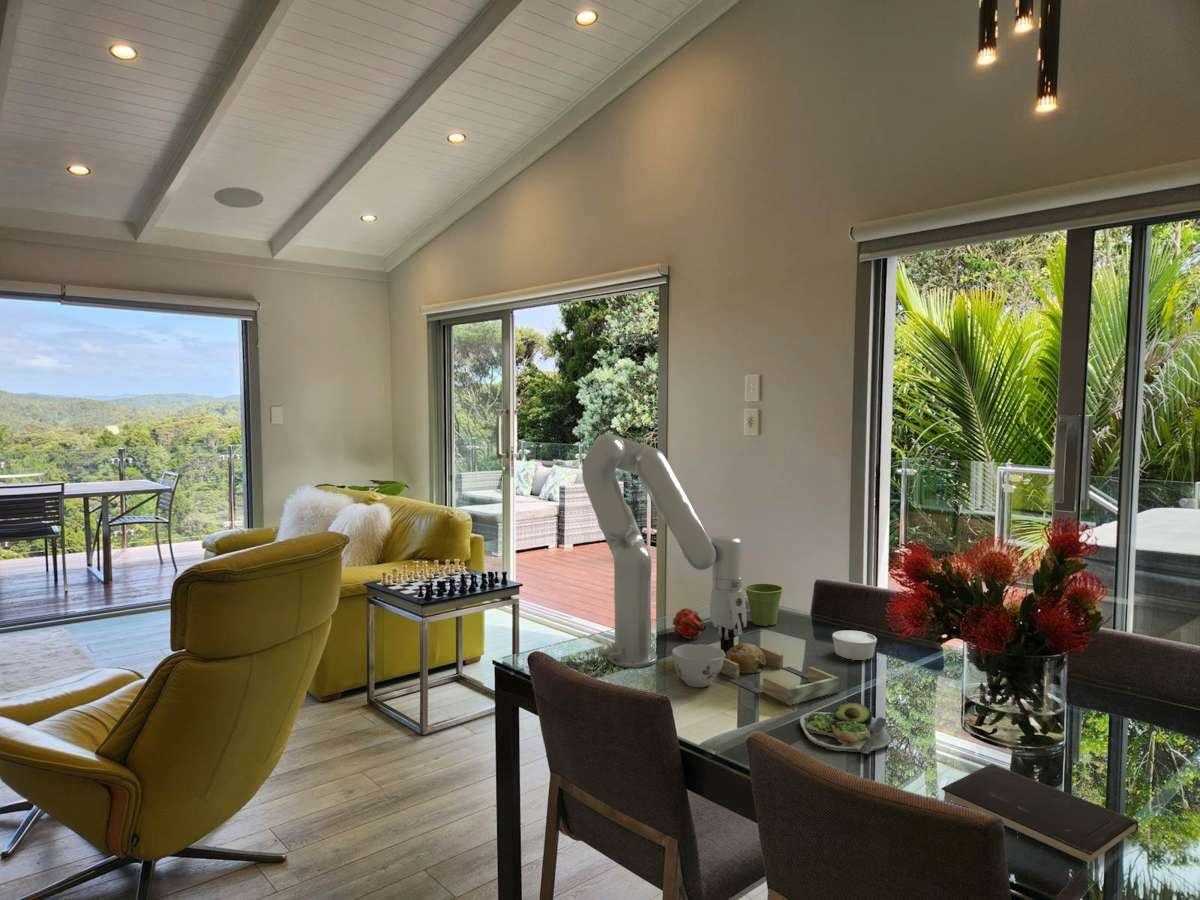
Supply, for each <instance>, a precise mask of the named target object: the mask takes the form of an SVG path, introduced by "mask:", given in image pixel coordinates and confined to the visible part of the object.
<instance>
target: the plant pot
mask: <svg viewBox="0 0 1200 900" xmlns="http://www.w3.org/2000/svg"><path fill="white" fill-rule="evenodd" d="M743 589H744V590H745V593H746V597H747V600H748V605H749V611H750V618H751V623H752V622H753V623H754V624H757V625H759V626H762V625H764V626H763V627H765V626H766V625H773V626H775V625H776V624H777V623H778V622H777V621H778V615H779V607H780V602H781V597H782V593H783V591H784V589H785V588H784V587H783V586H782V585H779V584H776V583H766V582H765V583H762V582H761V583H759V582H758V583H750V584H746V585H744V586H743ZM753 623H752V624H753ZM754 624H753V625H754ZM774 624H775V625H774ZM757 625H756V626H757Z"/></svg>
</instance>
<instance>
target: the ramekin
mask: <svg viewBox="0 0 1200 900" xmlns="http://www.w3.org/2000/svg"><path fill="white" fill-rule="evenodd" d="M831 636H832V640H833V646H834V652H835V653H836V655H837V656H838V655H839V656H841V657H844V658H847V659H853V660H852V661H854V660H864V661H867V660H866V659H869V660H870V658H871V659H872V658H873V657H874V654H875V650H876V644H877V642H878V639H877V637H876V636H875V635H874V634H871V633H868V632H865V631H861V630H860V631H859V630H851V629H850V630H838V631H835V632H833V633H832V635H831ZM839 656H838V657H839ZM841 657H840V658H841ZM844 658H843V659H844ZM847 659H846V660H847Z"/></svg>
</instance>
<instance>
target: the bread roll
mask: <svg viewBox="0 0 1200 900" xmlns="http://www.w3.org/2000/svg"><path fill="white" fill-rule="evenodd" d="M724 658H726V659H729V660H731V661H733V662H735V663H737V664H739V673H742V674H759V673H761V672H762V671H763V670H764V669H765V667H766V666H767V664H766V658H765V655H764V654H763V652H762V651H761V650H760V649H759V647H757V645H756V644H751V643H749V642H747V643H746V642H741V643H738V644H734V646H733V647H732V648H730V650H728V651H727V652H726V654H724Z"/></svg>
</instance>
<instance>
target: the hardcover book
mask: <svg viewBox="0 0 1200 900" xmlns="http://www.w3.org/2000/svg"><path fill="white" fill-rule="evenodd" d="M941 790H942V791H943V792H944V797H943V798H944V799H946V800H948V799H949V800H948V801H951V800H952V801H954V802H953V803H955V804H957V805H959V806H961V805H963V806H962V807H964V806H966V807H969V808H973V809H976V810H979V811H982V812H985V813H988V814H992V815H995V816H997V817H998V818H1000V819H1001V820H1002V821H1003V823H1004V824H1003V826H1006V827H1009V828H1011V829H1013V830H1014V831H1017V832H1020V833H1021V834H1024V835H1025V836H1028V837H1031V838H1033V839H1035V840H1037V841H1039V842H1042V843H1044V844H1046V845H1048V846H1050V847H1053V848H1054V849H1057V850H1059V851H1062V852H1064V853H1066V854H1068V855H1070V856H1073V857H1076V858H1078V859H1079V860H1082V861H1083V862H1086V863H1089V864H1091V863H1092V862H1093V861H1094V860H1096V859H1097V858H1098V857H1100V856H1101V855H1104V853H1105V852H1107V851H1108V850H1110V849H1111V848H1113V847H1114V846H1115V845H1117V844H1118V843H1119V842H1121V841H1123V840H1124V839H1125V838H1126V837H1128V836H1130V835H1131V834H1133V833H1134V832H1135V831H1139V821H1138V819H1135V818H1133V817H1130V816H1127V815H1124V814H1122V813H1119V812H1118V811H1114V810H1111V809H1109V808H1106V807H1104V806H1102V805H1099V804H1097V803H1094V802H1092V801H1088V800H1086V799H1083V798H1081V797H1078V796H1076V795H1073V794H1070V793H1069V792H1066V791H1063V790H1060V789H1057V788H1056V787H1053V786H1050V785H1048V784H1045V783H1042V782H1040V781H1038V780H1036V779H1032V778H1031V777H1027V776H1024V775H1023V774H1022V775H1021V774H1019V773H1017V772H1014V771H1012V770H1009V769H1006V768H1004V767H1002V766H999V765H996V764H993V763H991V764H988V765H985V766H984V767H981V768H979V769H978V770H976V771H974V772H972V773H969V774H967V775H965V776H963V777H962V778H959V779H957V780H956V781H953V782H951V783H949V784H946V785H945V786H943V787H941ZM952 801H951V802H952ZM966 807H965V808H966Z"/></svg>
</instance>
